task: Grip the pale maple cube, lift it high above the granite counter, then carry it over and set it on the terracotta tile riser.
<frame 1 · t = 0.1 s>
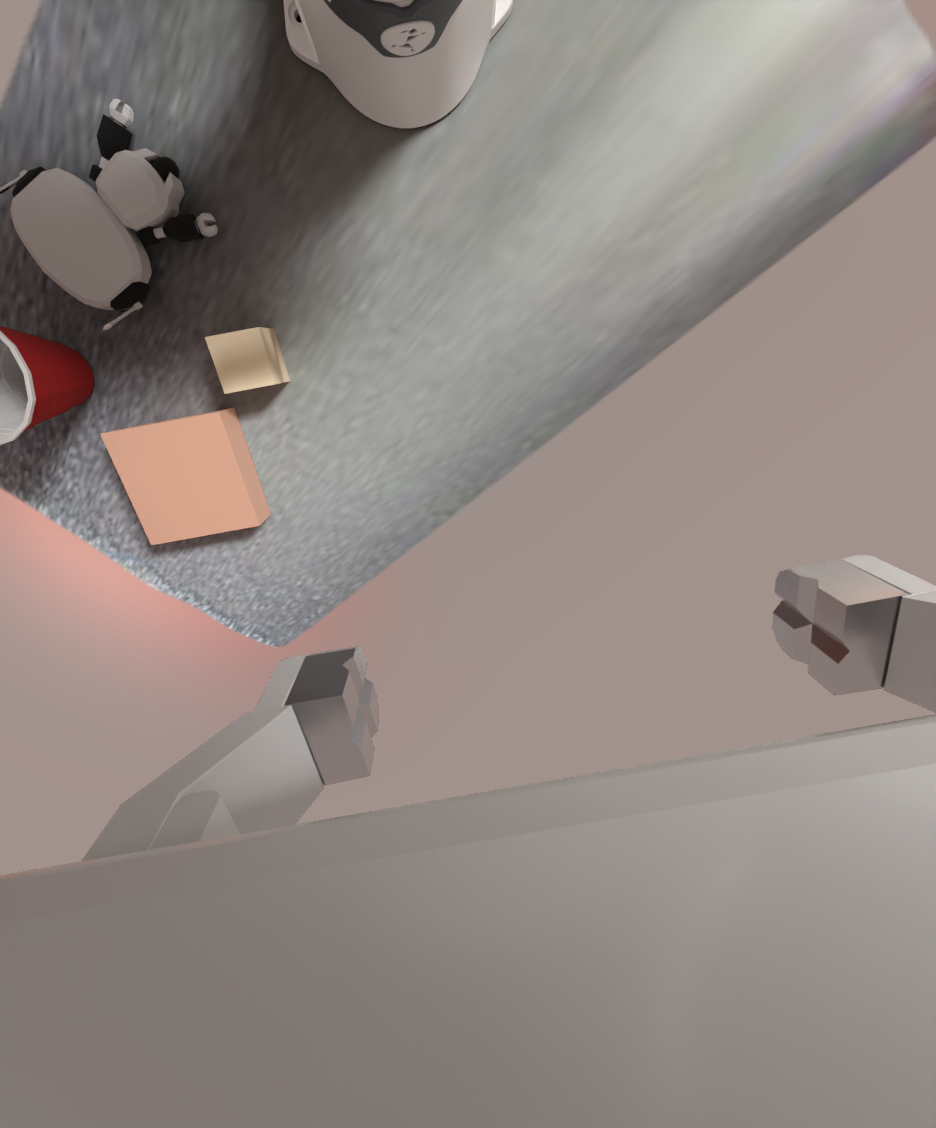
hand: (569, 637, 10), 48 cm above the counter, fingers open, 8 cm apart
robot toy: (129, 226, 46), on the counter
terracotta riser: (200, 472, 55), on the counter
maple cube: (258, 359, 51), on the counter
plastic cup: (64, 372, 51), on the counter
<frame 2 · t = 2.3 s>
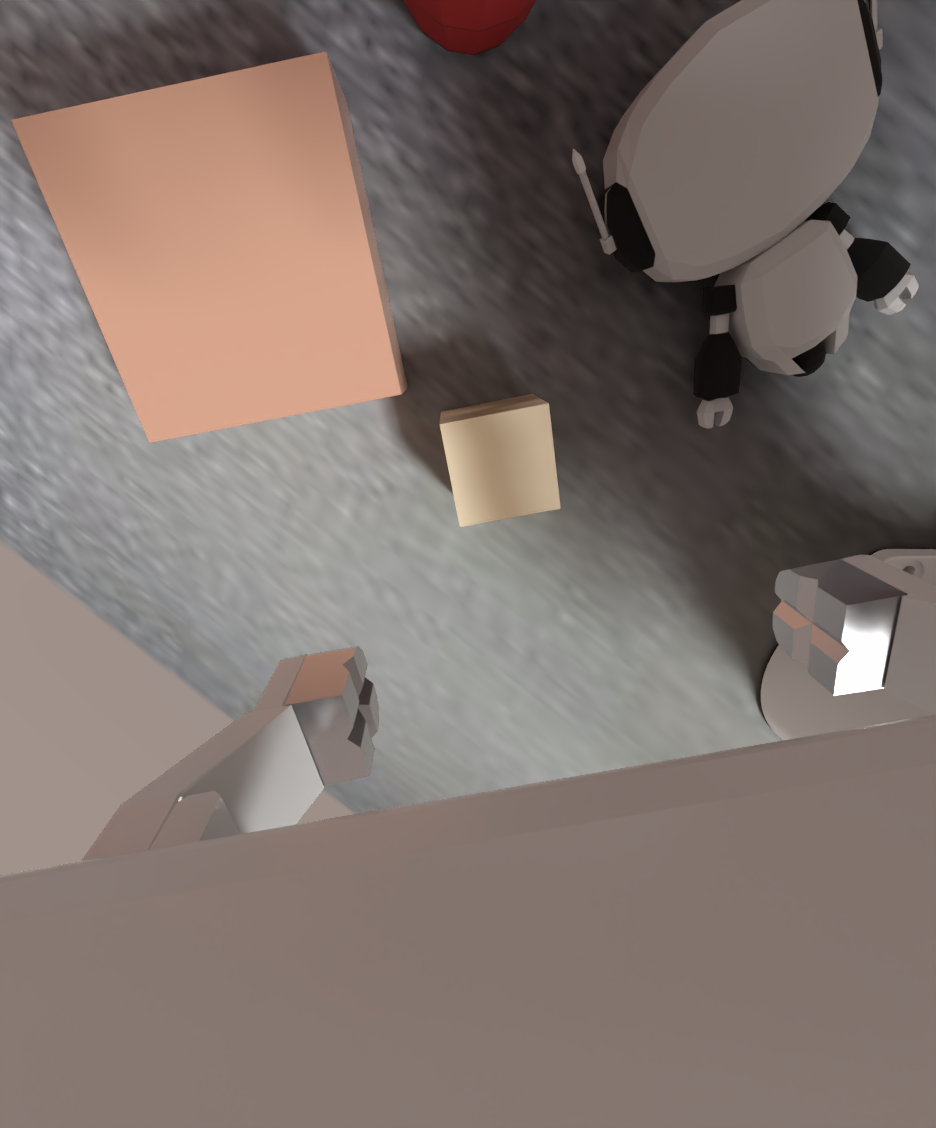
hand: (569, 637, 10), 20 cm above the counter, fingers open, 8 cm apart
robot toy: (727, 238, 25), on the counter
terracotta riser: (259, 282, 24), on the counter
maple cube: (493, 448, 28), on the counter
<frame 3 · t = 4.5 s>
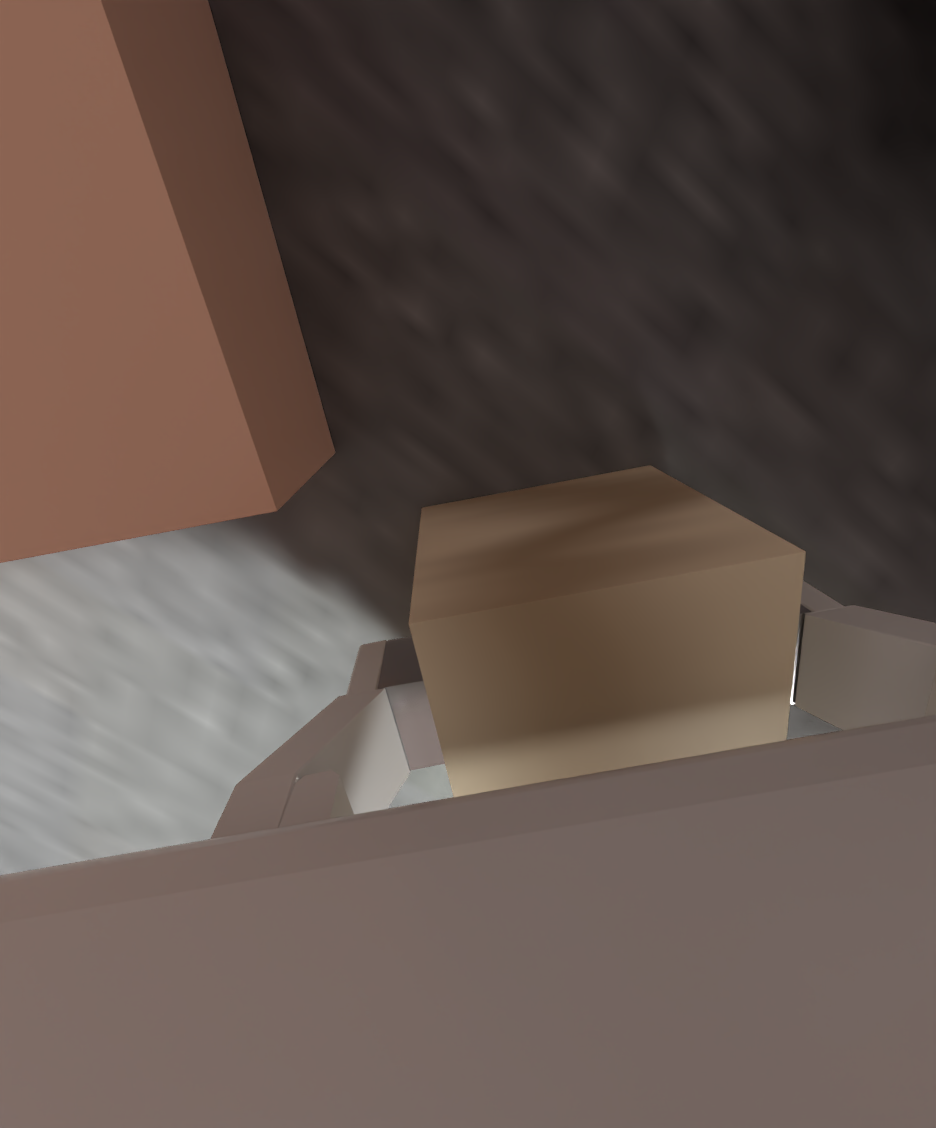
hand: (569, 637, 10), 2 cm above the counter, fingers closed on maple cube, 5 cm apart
maple cube: (548, 588, 12), on the counter, touching gripper
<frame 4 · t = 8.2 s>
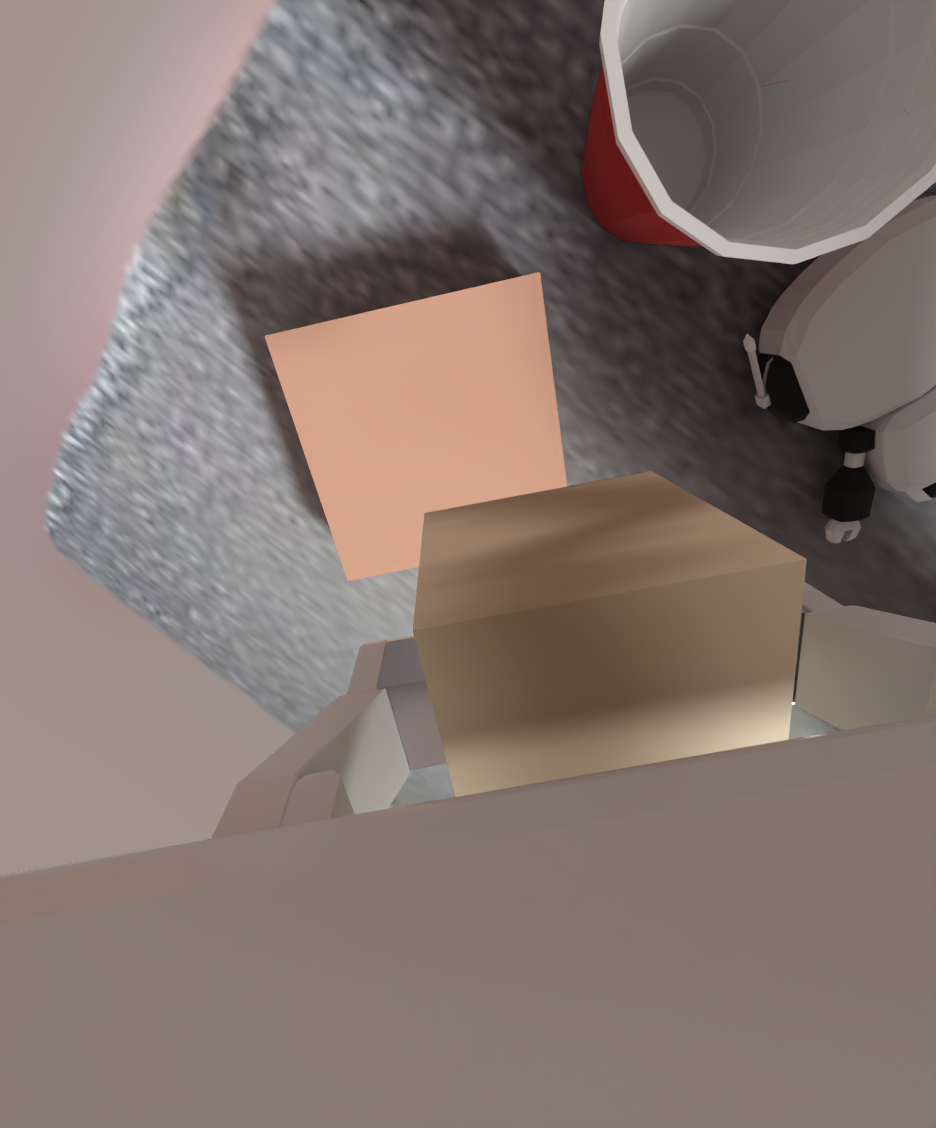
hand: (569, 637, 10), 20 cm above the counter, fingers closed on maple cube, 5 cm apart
robot toy: (857, 375, 27), on the counter
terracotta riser: (435, 430, 27), on the counter
maple cube: (549, 593, 12), point 17 cm above the counter, touching gripper
plastic cup: (646, 164, 23), on the counter
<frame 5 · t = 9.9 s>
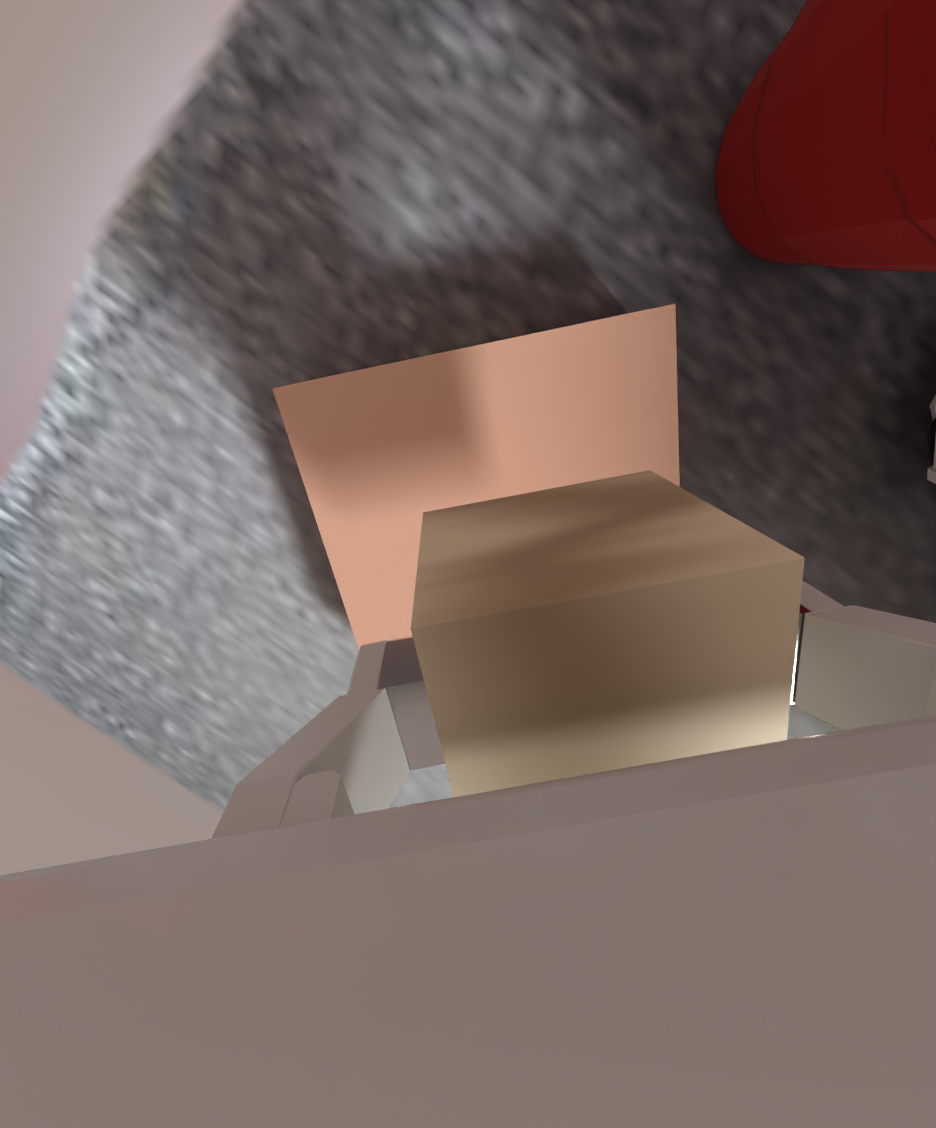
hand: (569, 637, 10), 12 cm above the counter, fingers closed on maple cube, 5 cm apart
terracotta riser: (492, 502, 21), on the counter
maple cube: (548, 592, 12), point 9 cm above the counter, touching gripper
plastic cup: (800, 158, 17), on the counter
when the fingers open (8 cm above the counter, at t = 11.5 s): maple cube drops 1 cm, resting on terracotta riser.
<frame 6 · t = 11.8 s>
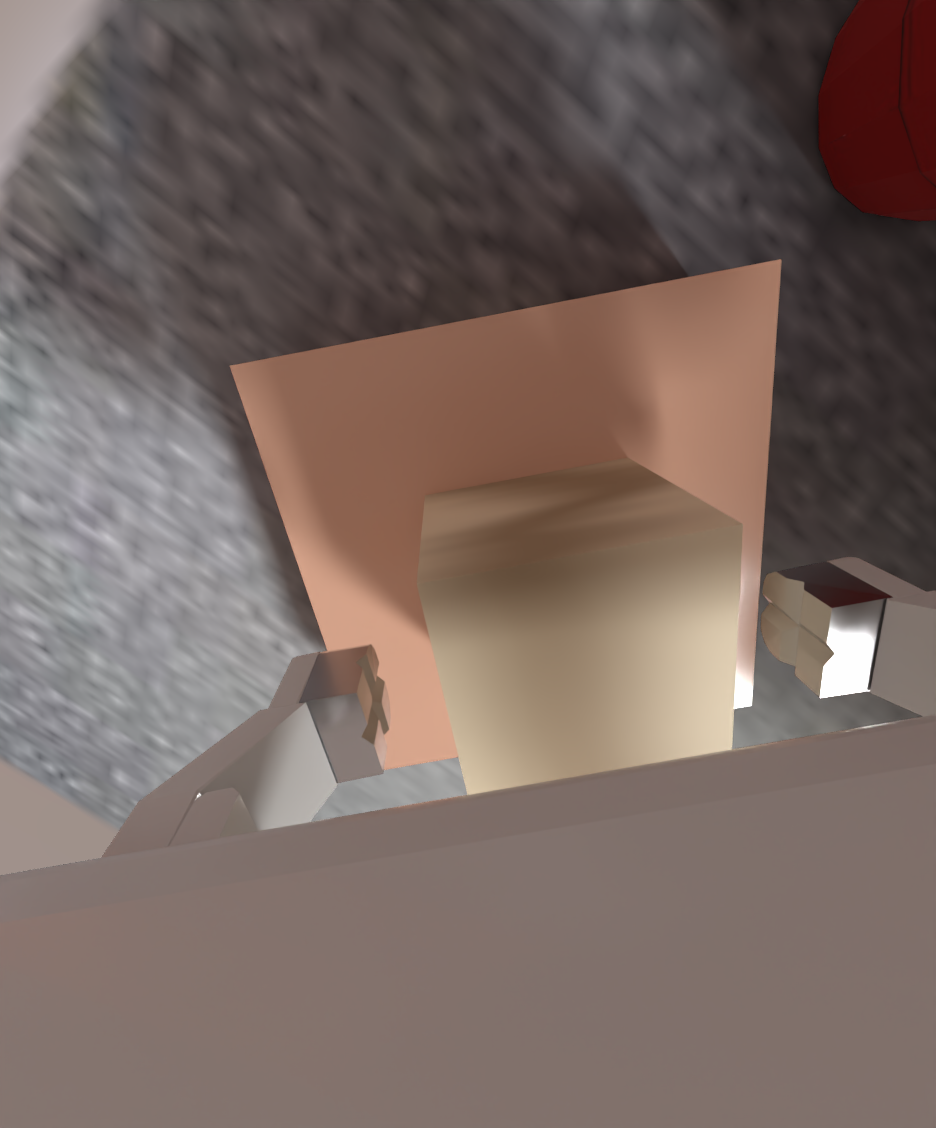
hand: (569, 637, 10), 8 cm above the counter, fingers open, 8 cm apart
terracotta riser: (514, 517, 17), on the counter
maple cube: (538, 568, 13), point 4 cm above the counter, touching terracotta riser
plastic cup: (927, 81, 13), on the counter
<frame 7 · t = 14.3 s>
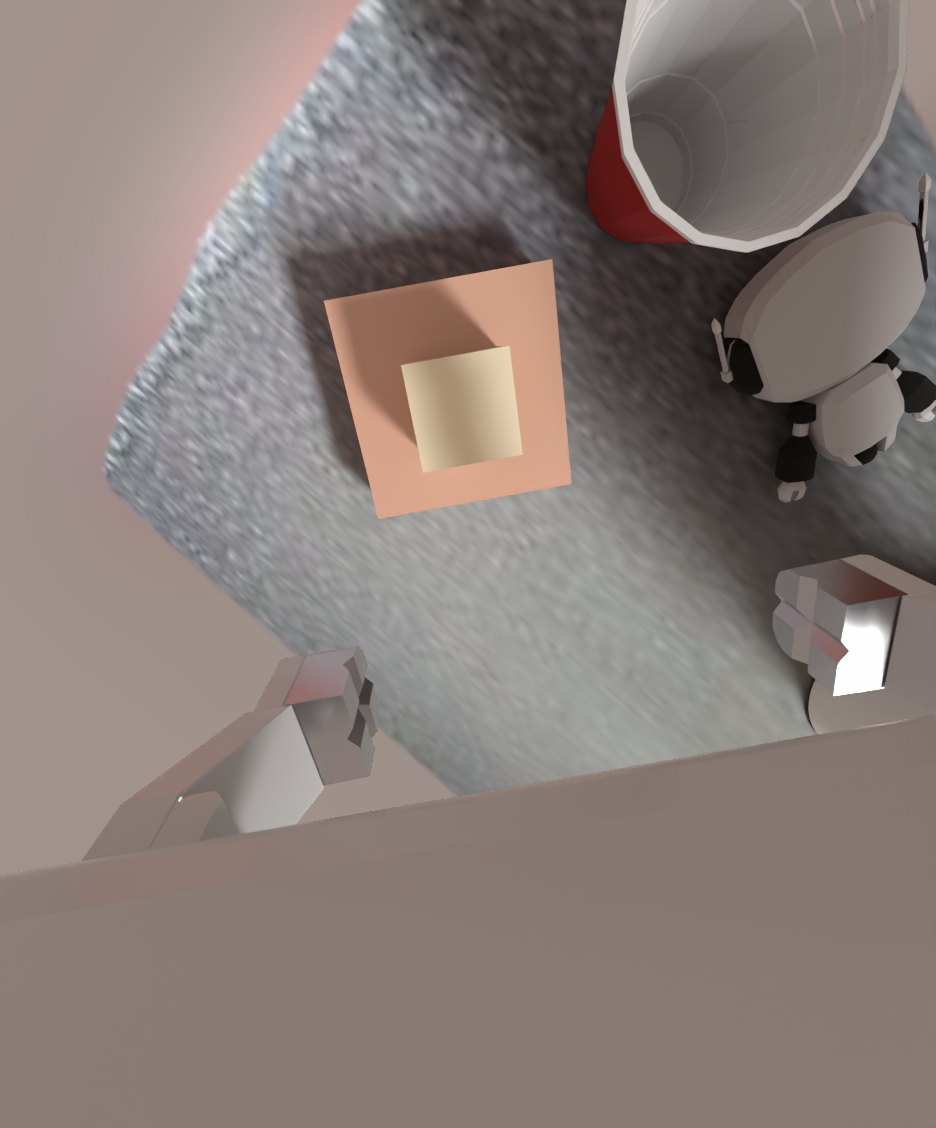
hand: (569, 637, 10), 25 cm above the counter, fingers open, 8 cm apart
robot toy: (803, 362, 33), on the counter
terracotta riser: (454, 394, 32), on the counter
maple cube: (459, 401, 28), point 4 cm above the counter, touching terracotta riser
plastic cup: (637, 179, 28), on the counter
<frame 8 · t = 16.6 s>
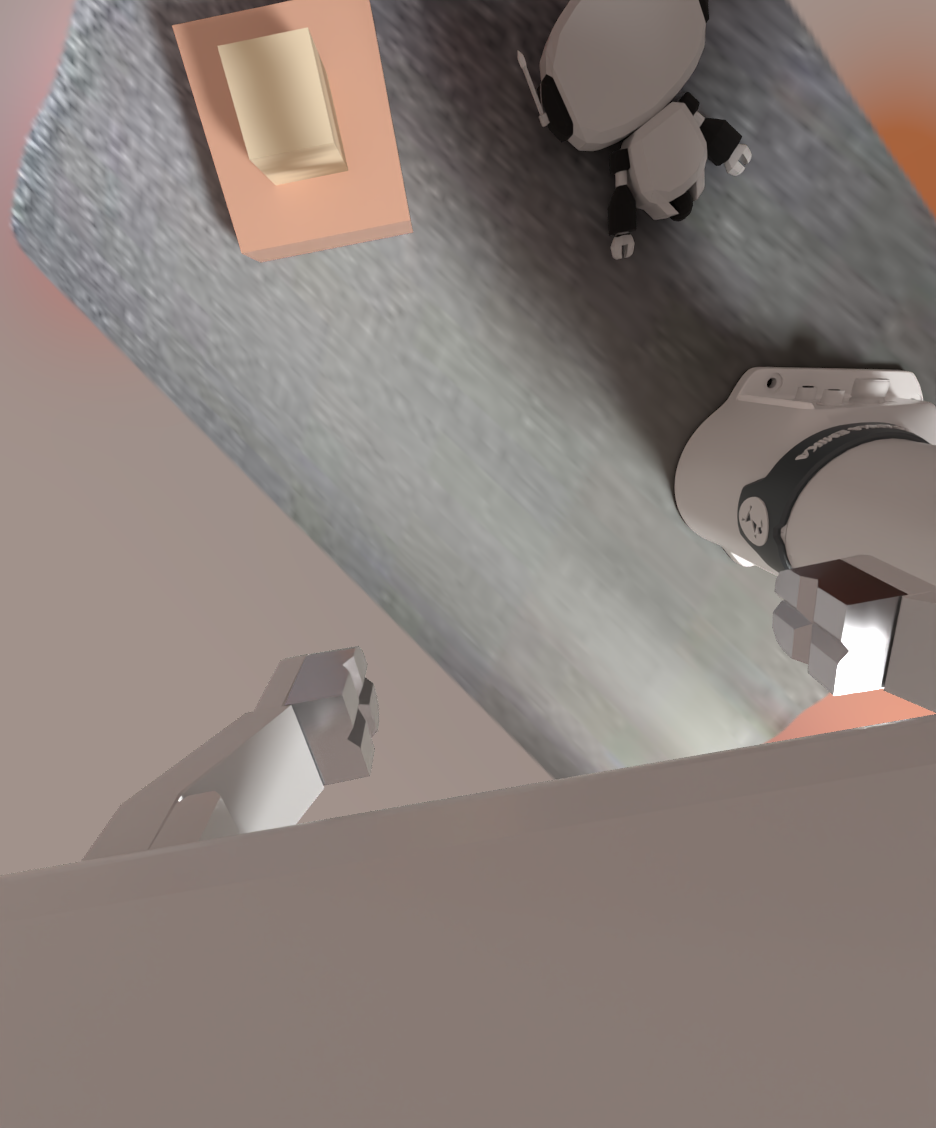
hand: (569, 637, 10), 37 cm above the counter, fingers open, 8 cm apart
robot toy: (628, 125, 37), on the counter
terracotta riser: (313, 151, 36), on the counter
maple cube: (300, 131, 33), point 4 cm above the counter, touching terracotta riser
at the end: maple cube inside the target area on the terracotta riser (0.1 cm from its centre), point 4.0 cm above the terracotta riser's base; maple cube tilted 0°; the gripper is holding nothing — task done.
